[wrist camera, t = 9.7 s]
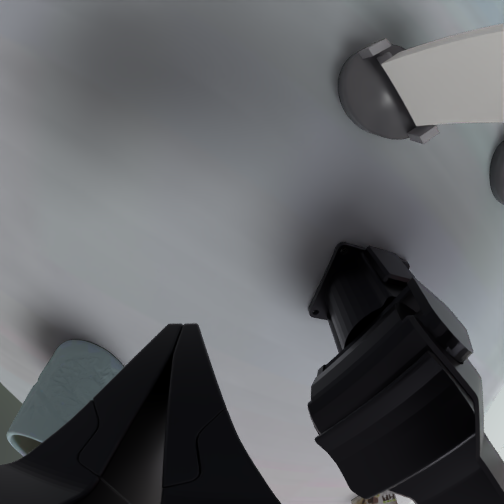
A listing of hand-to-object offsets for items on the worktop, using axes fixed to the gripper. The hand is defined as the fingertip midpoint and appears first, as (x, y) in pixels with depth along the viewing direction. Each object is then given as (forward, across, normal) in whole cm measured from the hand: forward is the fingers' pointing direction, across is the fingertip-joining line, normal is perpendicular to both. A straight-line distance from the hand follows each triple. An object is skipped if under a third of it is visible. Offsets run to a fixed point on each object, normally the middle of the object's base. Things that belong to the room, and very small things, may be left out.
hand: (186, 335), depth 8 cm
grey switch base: (+13, -11, -7) cm, 18 cm away
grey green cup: (+13, +15, +17) cm, 26 cm away
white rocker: (+11, -11, -7) cm, 17 cm away
